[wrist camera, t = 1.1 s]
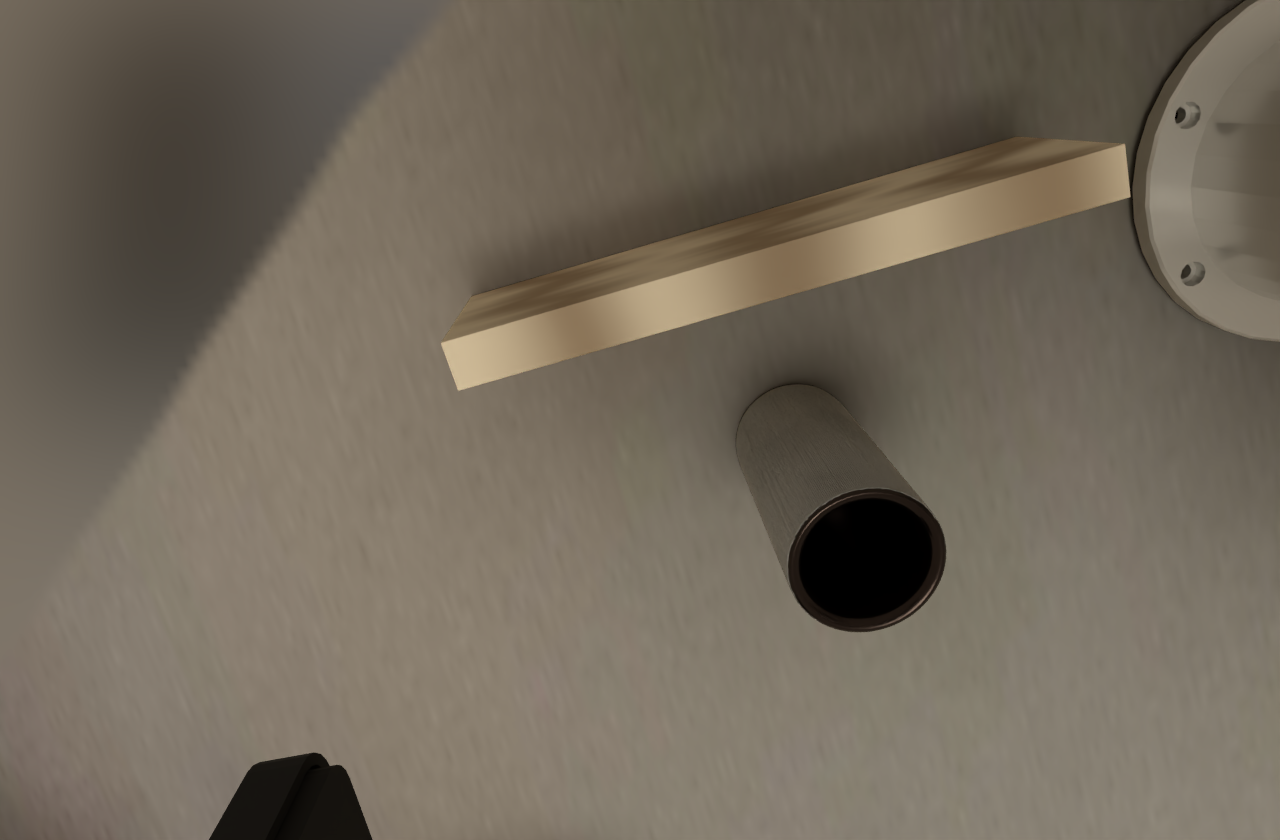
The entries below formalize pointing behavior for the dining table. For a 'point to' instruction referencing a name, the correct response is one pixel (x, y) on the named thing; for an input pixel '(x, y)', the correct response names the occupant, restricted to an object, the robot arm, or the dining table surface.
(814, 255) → the birch plank
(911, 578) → the grey upright cylinder
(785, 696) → the dining table surface
